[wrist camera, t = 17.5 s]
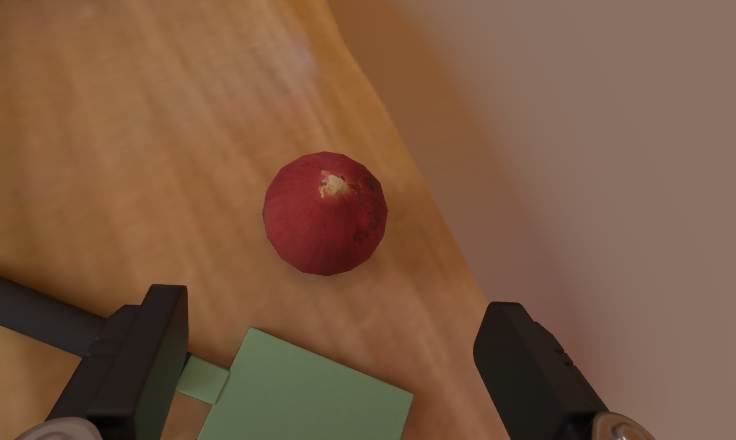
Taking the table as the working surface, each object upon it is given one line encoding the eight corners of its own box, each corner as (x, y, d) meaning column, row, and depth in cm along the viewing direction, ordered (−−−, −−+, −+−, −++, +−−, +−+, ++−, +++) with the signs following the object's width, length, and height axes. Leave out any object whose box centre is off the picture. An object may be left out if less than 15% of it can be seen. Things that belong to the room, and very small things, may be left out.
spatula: (-90, 344, 18) (-127, 344, 17) (1, 224, 20) (-23, 213, 19) (370, 520, 20) (379, 535, 18) (410, 393, 22) (421, 396, 20)
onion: (354, 178, 25) (389, 105, 18) (380, 271, 24) (430, 234, 16) (254, 196, 23) (247, 123, 16) (277, 297, 22) (280, 269, 15)
